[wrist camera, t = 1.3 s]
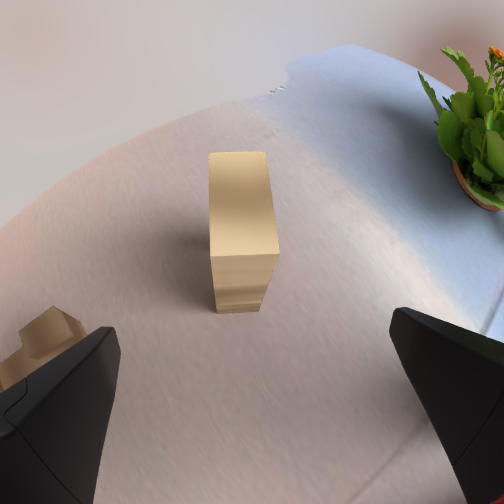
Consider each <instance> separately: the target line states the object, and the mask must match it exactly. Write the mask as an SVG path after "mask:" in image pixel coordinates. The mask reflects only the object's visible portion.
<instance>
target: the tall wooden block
mask: <svg viewBox="0 0 504 504" xmlns="http://www.w3.org/2000/svg"><path fill="white" fill-rule="evenodd" d="M209 221H210V258H211V267H212V276H213V284H214V293H215V301H216V309H217V314H219V313H239V312H256V311H259V308H260V305H261V303H262V300H263V297H264V295H265V292H266V289H267V287H268V284H269V281H270V279H271V276H272V273H273V270H274V268H275V265H276V262H277V260H278V257H279V254H280V252H279V244H278V237H277V229H276V222H275V215H274V208H273V201H272V193H271V187H270V180H269V173H268V166H267V159H266V153H265V152H216V153H209Z"/></svg>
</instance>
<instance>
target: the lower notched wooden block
mask: <svg viewBox="0 0 504 504" xmlns="http://www.w3.org/2000/svg"><path fill="white" fill-rule="evenodd" d="M19 335H20V337H21V340H22V342H23V345H24V346H23V347H22V348H21V349H19V350H18V351H17V352H15V353H14V354H13V355H11V356H10V357H9V358H7V359H6V360H5V361H3V362H2V363H1V364H0V393H1V392H2V391H4V390H6V389H7V388H9V387H11V386H12V385H14V384H15V383H17V382H18V381H20V380H21V379H23V378H24V377H27V375H29V374H30V373H32V372H33V371H35V370H36V369H38V368H39V367H41V366H42V365H44V364H45V363H47V362H48V361H50V360H51V359H53V358H54V357H56V356H57V355H59V354H60V353H62V352H63V351H65V350H66V349H68V348H69V347H71V346H72V345H74V344H75V343H77V342H78V341H80V340H82V339H83V338H85V337H86V336H87V334H86V332H85V330H84V328H83V326H82V324H81V322H80V321H78V320H76V319H75V318H73V317H71V316H69V315H68V314H66V313H64V312H63V311H61V310H59V309H58V308H56V307H55V306H52V307H51V308H50V309H48V310H47V311H45V312H44V313H43V314H41V315H40V316H39V317H37V318H36V319H35V320H33V321H32V322H31V323H29V324H28V325H27V326H25V327H24V328H23V329H21V330H20V331H19Z"/></svg>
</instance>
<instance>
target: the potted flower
mask: <svg viewBox="0 0 504 504" xmlns="http://www.w3.org/2000/svg"><path fill="white" fill-rule="evenodd" d="M445 48H446V50H444V49H441V51H442V52H443V53H445V54H446V55H447V56H448V57H449V58H451V59H452V60H453V61H454V62H455V63H456V64H457V65H458V67H459V68H460V69H461V71H462V72H463V74H464V76H465V77H466V79H467V81H468V83H469V85H468V91H467V93H464V92H456V93H455V95H453V94H452V96H450V99H451V102H452V103H451V102H450V100H449V99H448V100H447V99H446V98H445V97H443V96H442V97H443V99H444V101H445V102H446V104H447V105H448V107H449V108H450V110H451V111H452V112H451V111H449V110H447V109H445V108H444V109H442V107H441V105H440V104H439V102H438V101H437V99H436V95H435V91H434V89H433V88H430V86H429V84H428V82H427V81H425V80H424V78H423V76H422V75H420V72H419V71H418V75H419V77H420V80H421V83H422V85H423V87H424V90H425V91H426V93H427V95H428V97H429V98H430V100H431V101H432V103H433V105H434V107H435V109H436V112H437V114H438V117H439V122H438V123H437V122H436V121H434V123H435V124H436V125H437V127H438V128H437V136H438V141H439V145H440V146H441V148H442V149H443V151H444V152H445V153H446V154H447V155H448V156H449V157H450V158H451V159H452V160H453V161H452V164H453V170H454V173H455V175H456V177H457V179H458V181H459V183H460V185H461V186H462V188H463V189H464V191H465V192H466V193H467V194H468V195H469V196H470V197H471V198H472V199H473V200H474V201H476V202H477V203H478V204H479V205H480V206H481V207H482V208H486V209H487V210H492V211H499V210H501V209H502V210H504V92H503V91H502V90H503V88H504V84H502V85H499V84H500V83H501V81H502V80H503V79H504V69H503V70H502V69H501V72H502V78H501V79H500V80H499V82H498V83H497V78H496V77H499V76H500V75H501V72H500V71H499V70H497V71H496V73H495V74H494V75H493V72H494V71H495V70H496V69H497V68H498V67H501V66H503V67H504V56H503V53H502V51H500V49H495V48H494V47H492V46H489V49H490V50H489V51H488V52H489V58H490V61H491V68H489V65H488V63H487V61H485V63H486V66H487V69H488V71H489V73H490V76H489V80H488V83H485V82H484V79H483V78H482V77H481V76H475V77H474V78H473V76H474V70H473V68H470V64H469V62H468V61H467V60H466V57H465V55H464V53H463V52H462V51H460V50H459V51H458V52H457V54H458V56H457V55H456V53H455V51H453V50H452V49H451V48H449V47H448V46H446V47H445ZM498 62H499V63H498ZM496 63H498V66H497V67H495V68H494V65H493V64H496ZM493 68H494V69H493ZM492 76H494V80H495V83H496V88H495V90H494V88H490V89H489V86H490V83H491V79H492ZM499 87H501V89H499ZM502 93H503V94H502Z"/></svg>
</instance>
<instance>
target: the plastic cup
mask: <svg viewBox="0 0 504 504" xmlns="http://www.w3.org/2000/svg"><path fill="white" fill-rule="evenodd" d="M494 504H504V497H503V498H501V499H500V500H498V501H497V502H496V503H494Z"/></svg>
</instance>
